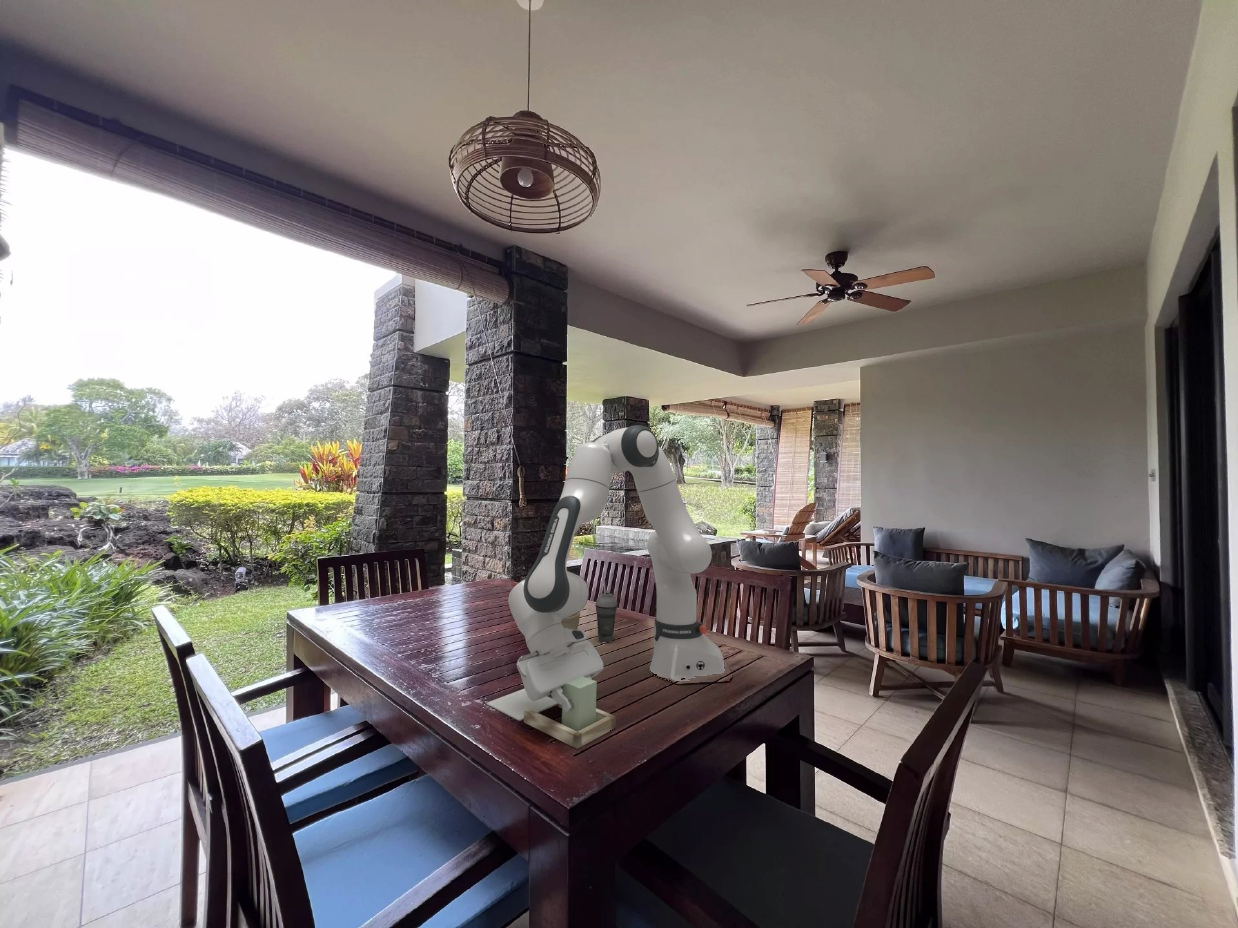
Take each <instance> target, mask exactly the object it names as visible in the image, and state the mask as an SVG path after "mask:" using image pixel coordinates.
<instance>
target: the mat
mask: <svg viewBox="0 0 1238 928" xmlns="http://www.w3.org/2000/svg"><path fill="white" fill-rule="evenodd" d="M485 704H486V705H487V706H489V707H491V708H493V709H495V710H496V711H499V712H501V713H503V714H505V715H506V716H509V717H511V718H513V719H514V720H517V721H518V722H520V721H522V720H523V721H524V710H526V709H530V710H533V711H535V712H537V713H539V714H540V713H541V712H543V711H546V710H547V709H550V708H552V707H555V706H558V704H559V703H558V702H556V701H555V700H554V699H553V697H550V696H546V697H544V698H541V699H539V700H537V701H532V700H531V699H530V698H529V697H528V695H527V693H526V690H525V688H522V689H520V690H517V691H514V692H512V693H509V694H507V695H503V696H501V697H498V698H495V699H493V700H490V701H488V702H486V703H485Z"/></svg>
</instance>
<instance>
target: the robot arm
mask: <svg viewBox="0 0 1238 928" xmlns="http://www.w3.org/2000/svg"><path fill="white" fill-rule="evenodd" d="M572 455H573V456H572V457H571V461H570V463H569V466H568V469H567V472H566V477H565V481H564V483H563V484H564V485H563V487H562V492H561V495H560V498H559V500H558V501H557V503H556V505H555V506H554V508H553V511H552V513H551V516H550V518H549V523H548V524H547V525H548V526H547V528H546V531H545V534H544V537H543V541H542V542H541V546H540V549H539V553H538V555H537V557H536V560H535V561H534V564H533V565H532V567H531V568H530V570H529V571H528V573H527V575H526V576H525V578H524V579H523V580H521V581H520V582H518V583H517V584H516V585H515V586H513V588H512V589H511V590H510V592H509V595H508V605H509V606H508V607H509V609H510V612H511V614H512V618H513V620H514V622H515V624H516V625H517V626H516V627H517V629H518V630H519V631H520V632H521V633H522V635H523V636H524V638H525V643H526V646H527V648H528V650H529V652H530V653H528V654H524V655H521V656H519V658H518V659H517V662H516V668H517V670H518V672H519V674H520V678H521V681H522V684H523V687H524V688H523V689H525V690H526V693H527V695H528V697H529V698H530V699H531V700H532V701H537V700H539V699H541V698H544V697H546V696H547V697H550V695H551V698H552V699H554V700H555V701H556V702H558V703H559V704H560V705H562V707H563V709H564V711H565V712H568V711H570V710H572V709H573V708H574V703H573V701H572V699H567V698H566V697H565V696H564V695H563V686H564V685H566V683H567V682H570V681H572V680H575V679H577V678H580V677H582V676H583V677H586V678H589V679H591V680H593V679H592V678H595V677H596V676H598V675H599V674H601V672H602V671H603V670H604V661H603V660H602V657H601V656H600V654H599V652H598V650H597V649H596V647H595V646H594V645H593V643H591V641H589V640H587V639H588V634H587V633H586V631H585V630H583V629H577V630H574V629H568V628H564V627H563V626H562V624H561V621H562V620H563V619H566V618H568V617H570V616H572V615H574V614H576V613H577V612H579V611H581V610H583V609H584V608H585V606H586V605H587V604H588V600H589V597H590V590H589V587H588V583H587V582H586V580H585V579H584V578H583V577H582V576H580V575H577V574H576V573H574V572H571V571H568V569H567V562H568V559H569V555H570V551H571V549H572V545H573V541H574V538H575V535H576V532H577V531H578V529H579V527H580V526H581V525H583V524H585V523H589V522H591V521H594V520H596V519H597V518H599V517H600V516H601V515H602V514H603V513H604V511H605V509H606V508H605V507H606V505H607V502H608V497H609V493H610V486H611V480H612V475H613V474H616V473H617V474H618V473H623V472H627V471H629V472H630V473H631V475H632V476H633V481H634V485H635V488H636V491H637V493H638V494H637V495H638V497H639V500H640V503H641V506H642V509H643V513H644V515H645V517H646V520H647V521H648V522H649V523H650V525H651V526H652V528H653V529H654V532H652V533H651V534H650V536H649V537H648V539H647V545H646V547H647V548H646V549H647V552H648V554H649V557H650V559H651V564H652V569H653V575H654V581H655V588H656V590H655V591H656V617H655V618H654V626H653V630H654V631H653V637H654V646H653V653H652V658H651V662H650V665H649V668H650V670H651V672H653V673H654V674H657V675H658V676H662V677H665V678H670V679H672V680H674V681H690V680H688V679H691V678H696V677H694V676H707V675H712V674H722V673H724V671H725V669H724V663H725V662H724V655H723V653H722V651H721V649H720V648H719V647H718V646H717V644H715V643H714V642H713V641H712V640H710V639H709V637H707V636H706V635H705V634H707V633H708V628H707V626H706V625H704V623H703V622H701V620H699V619H697V607H698V606H697V601H698V599H697V598H698V596H697V590H696V588H695V586H694V584H693V580H692V576H691V574H700V573H702V572H704V571H705V570H706V569H707V568H708V567H709V565H710V563H711V561H712V558H713V557H712V556H713V552H712V548H711V545H710V544H709V542H708V541H707V540H706V539H705V538H704V537H703V535H702V534H701V532H699V529H698V528H697V526H696V524H695V522H694V521H693V519H692V517H691V515H690V513H689V511H688V509H687V507H686V505H685V503H684V501H683V498H682V494H681V490H680V488H679V486H678V482H677V480H676V477H675V473H674V471H673V469H672V466H671V464H670V461H669V460H668V457H667V456H666V454H665V452H664V450H663V449H662V448H661V447H660V445H659V441H658V438H657V437H656V434H655V433H654V432H653V430H651V429H650V428H649V427H647V426H646V425H641V424H639V425H637V424H636V425H630V426H629V427H622V428H617V429H614V430H612V431H611V432H609V433H606V434H604V435H599V436H597V437H596V438H594V439H593V440H591V441H589V442H583V443H582V444H580V445H579V446H578V447H576V449H575V451H574V453H573V454H572ZM650 670H649V671H650ZM651 672H650V673H651ZM681 678H685V679H686V680H681Z"/></svg>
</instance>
